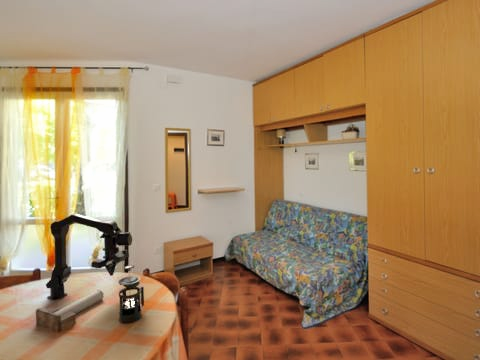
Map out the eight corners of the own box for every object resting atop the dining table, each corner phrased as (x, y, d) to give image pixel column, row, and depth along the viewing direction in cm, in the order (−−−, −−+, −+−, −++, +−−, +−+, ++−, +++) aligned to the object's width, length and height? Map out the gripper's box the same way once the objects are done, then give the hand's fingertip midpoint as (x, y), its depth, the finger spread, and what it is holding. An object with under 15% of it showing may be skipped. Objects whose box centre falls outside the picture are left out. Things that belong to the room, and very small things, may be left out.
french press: (125, 327, 110) (124, 272, 109) (113, 320, 116) (111, 267, 115) (149, 314, 120) (148, 263, 119) (136, 308, 125) (135, 260, 124)
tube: (55, 319, 110) (104, 292, 134) (46, 313, 112) (96, 287, 135) (53, 330, 111) (102, 301, 134) (44, 324, 112) (94, 296, 136)
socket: (36, 324, 113) (35, 309, 112) (54, 315, 119) (54, 301, 119) (57, 332, 107) (57, 316, 107) (75, 322, 114) (75, 307, 114)
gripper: (106, 252, 126) (107, 285, 127) (136, 242, 144) (136, 271, 144) (90, 250, 131) (91, 281, 131) (120, 240, 148) (121, 268, 149)
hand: (111, 275), depth 139 cm, fingers closed
